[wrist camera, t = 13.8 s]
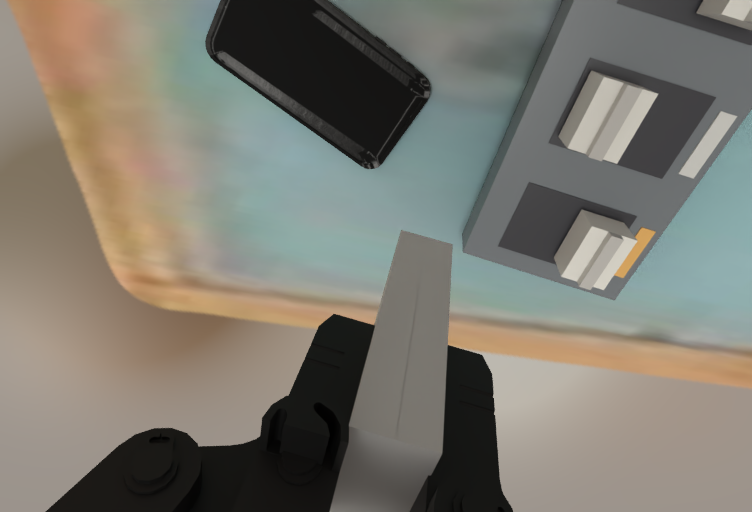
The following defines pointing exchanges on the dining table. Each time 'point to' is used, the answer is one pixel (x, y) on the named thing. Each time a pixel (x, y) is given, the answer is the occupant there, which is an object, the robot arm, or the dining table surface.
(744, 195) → the dining table surface
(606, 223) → the switch tab
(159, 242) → the dining table surface
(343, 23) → the phone
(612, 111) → the switch tab
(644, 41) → the switch board
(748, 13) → the switch tab
